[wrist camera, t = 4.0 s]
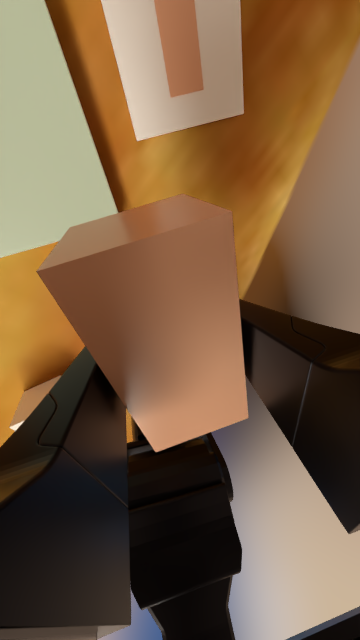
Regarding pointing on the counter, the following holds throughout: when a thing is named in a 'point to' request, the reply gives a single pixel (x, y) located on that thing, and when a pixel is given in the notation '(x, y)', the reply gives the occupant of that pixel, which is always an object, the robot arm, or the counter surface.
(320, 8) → the counter surface
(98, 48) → the counter surface
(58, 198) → the baseplate
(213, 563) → the robot arm
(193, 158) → the counter surface
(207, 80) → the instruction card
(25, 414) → the cream brick
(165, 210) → the terracotta brick
